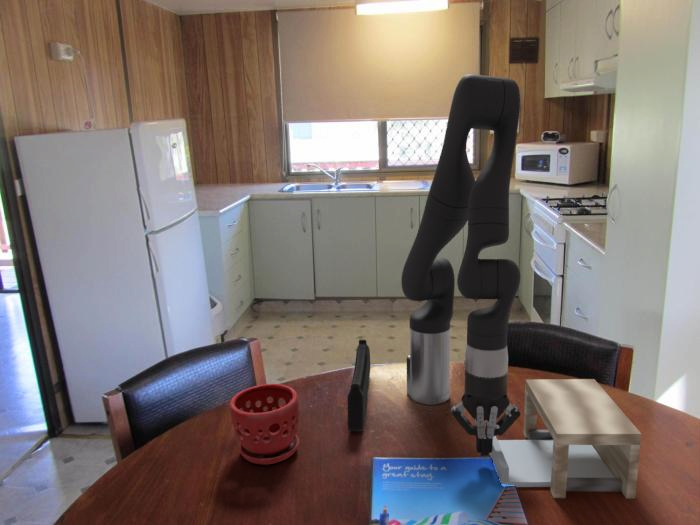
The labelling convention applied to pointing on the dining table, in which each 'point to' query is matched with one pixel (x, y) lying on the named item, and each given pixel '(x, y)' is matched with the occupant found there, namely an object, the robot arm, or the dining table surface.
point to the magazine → (359, 388)
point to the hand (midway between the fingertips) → (484, 453)
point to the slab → (542, 462)
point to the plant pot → (266, 423)
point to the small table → (583, 433)
